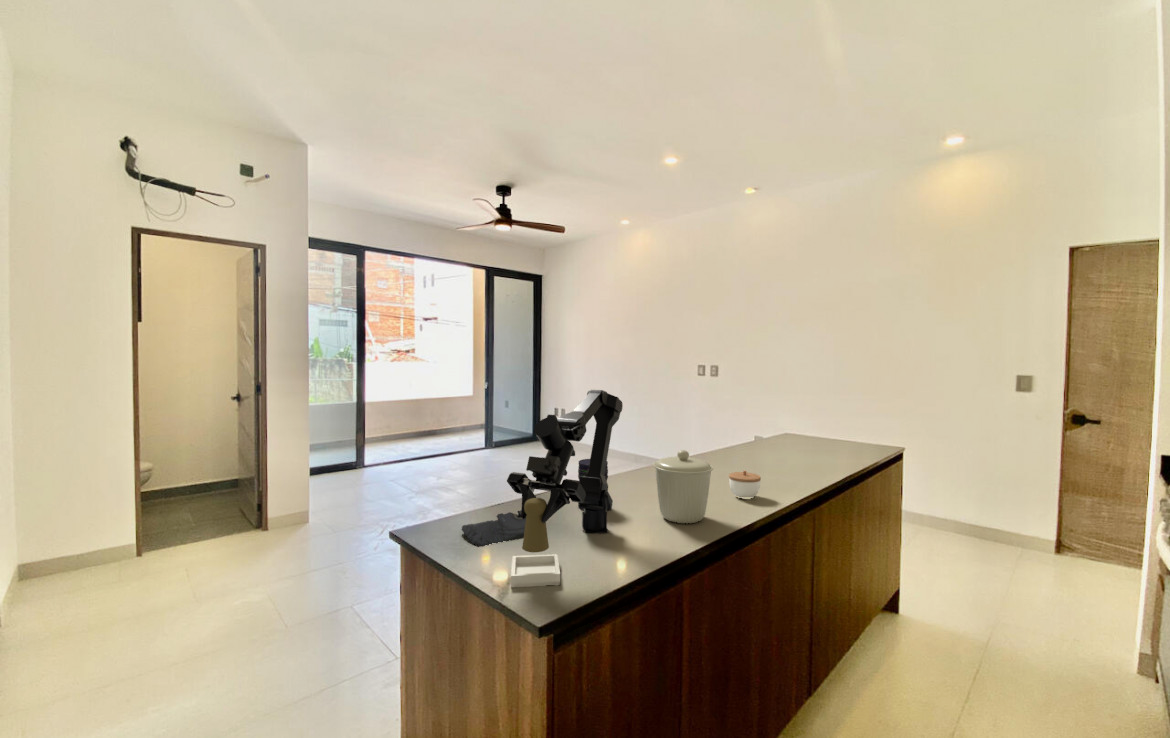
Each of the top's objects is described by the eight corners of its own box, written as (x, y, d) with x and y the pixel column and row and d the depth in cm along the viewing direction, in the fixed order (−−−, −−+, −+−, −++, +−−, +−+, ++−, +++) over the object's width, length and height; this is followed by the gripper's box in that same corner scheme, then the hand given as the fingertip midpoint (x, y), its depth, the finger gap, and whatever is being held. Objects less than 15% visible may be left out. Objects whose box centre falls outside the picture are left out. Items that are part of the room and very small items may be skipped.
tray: (557, 564, 118) (557, 554, 118) (560, 585, 108) (560, 573, 108) (512, 566, 117) (512, 556, 117) (510, 587, 106) (510, 576, 106)
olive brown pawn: (517, 545, 113) (517, 497, 113) (541, 539, 116) (541, 493, 116) (529, 554, 108) (529, 504, 108) (553, 548, 111) (553, 500, 111)
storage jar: (572, 508, 162) (572, 462, 161) (587, 500, 170) (588, 457, 169) (598, 513, 156) (598, 466, 156) (613, 505, 165) (613, 460, 164)
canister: (643, 512, 158) (643, 446, 157) (693, 507, 164) (693, 443, 163) (669, 531, 141) (670, 458, 140) (724, 525, 146) (725, 454, 146)
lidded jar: (739, 491, 183) (740, 466, 183) (766, 497, 175) (766, 471, 174) (722, 496, 176) (722, 470, 176) (749, 503, 168) (749, 476, 167)
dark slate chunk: (455, 532, 140) (455, 515, 140) (525, 518, 153) (525, 503, 152) (475, 550, 128) (475, 532, 127) (549, 533, 140) (550, 517, 140)
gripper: (510, 438, 119) (482, 496, 109) (580, 445, 111) (556, 508, 101) (528, 464, 126) (503, 520, 117) (594, 472, 118) (573, 533, 109)
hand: (532, 520), depth 111 cm, fingers closed on olive brown pawn, 5 cm apart
